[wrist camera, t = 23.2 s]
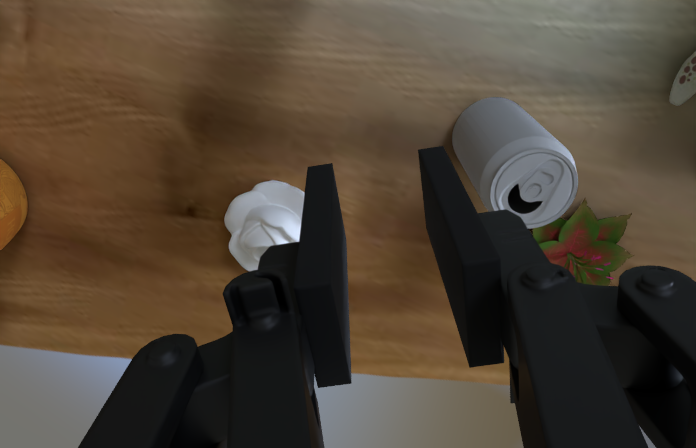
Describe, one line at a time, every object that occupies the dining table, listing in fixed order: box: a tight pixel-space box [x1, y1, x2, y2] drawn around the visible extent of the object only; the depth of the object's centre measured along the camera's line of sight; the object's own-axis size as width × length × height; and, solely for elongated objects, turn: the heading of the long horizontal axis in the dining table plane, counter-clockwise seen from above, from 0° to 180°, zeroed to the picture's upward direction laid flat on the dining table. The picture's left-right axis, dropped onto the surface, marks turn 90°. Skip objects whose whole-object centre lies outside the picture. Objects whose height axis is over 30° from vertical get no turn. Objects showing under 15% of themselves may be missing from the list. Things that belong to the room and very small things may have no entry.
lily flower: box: [533, 199, 634, 286], centre depth 50 cm, size 12×12×5 cm
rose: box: [224, 180, 305, 272], centre depth 48 cm, size 10×4×10 cm
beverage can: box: [452, 97, 578, 229], centre depth 41 cm, size 6×6×12 cm
